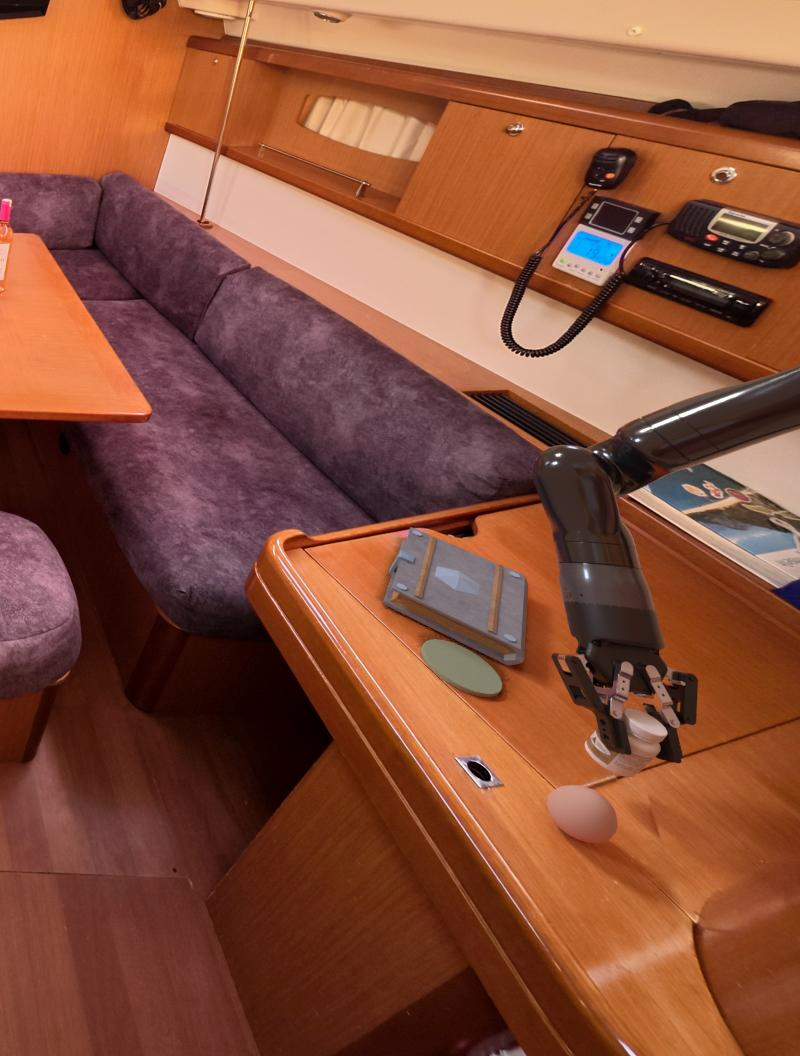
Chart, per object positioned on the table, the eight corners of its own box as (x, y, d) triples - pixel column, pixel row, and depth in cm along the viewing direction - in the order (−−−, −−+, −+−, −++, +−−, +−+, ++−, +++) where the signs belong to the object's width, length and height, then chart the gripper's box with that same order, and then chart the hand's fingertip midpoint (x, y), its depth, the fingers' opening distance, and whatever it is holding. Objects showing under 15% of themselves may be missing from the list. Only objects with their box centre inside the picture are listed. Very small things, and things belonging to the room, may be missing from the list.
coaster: (497, 666, 94) (499, 663, 93) (502, 710, 88) (505, 706, 87) (420, 632, 99) (422, 628, 99) (420, 671, 93) (422, 667, 92)
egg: (571, 808, 76) (603, 777, 73) (611, 858, 72) (646, 826, 69) (524, 800, 77) (554, 768, 74) (560, 848, 72) (593, 817, 69)
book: (514, 671, 93) (532, 649, 91) (378, 603, 104) (391, 582, 101) (519, 595, 106) (535, 574, 104) (398, 542, 117) (410, 522, 115)
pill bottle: (575, 735, 80) (610, 697, 76) (622, 751, 78) (660, 713, 75) (594, 767, 76) (631, 729, 73) (643, 785, 75) (684, 747, 71)
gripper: (573, 597, 77) (608, 755, 71) (708, 615, 75) (755, 779, 69) (516, 593, 84) (545, 737, 78) (639, 609, 82) (677, 758, 76)
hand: (643, 756), depth 74 cm, fingers closed on pill bottle, 4 cm apart
